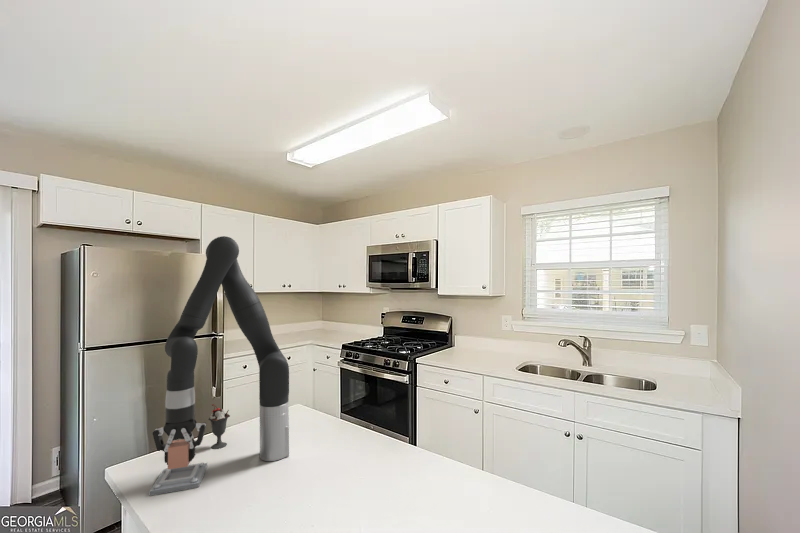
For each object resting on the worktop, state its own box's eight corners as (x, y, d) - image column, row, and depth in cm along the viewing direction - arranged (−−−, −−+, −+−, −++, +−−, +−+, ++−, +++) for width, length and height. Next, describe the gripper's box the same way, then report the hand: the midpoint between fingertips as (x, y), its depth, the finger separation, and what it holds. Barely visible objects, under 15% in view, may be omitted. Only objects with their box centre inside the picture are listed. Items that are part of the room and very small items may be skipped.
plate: (207, 466, 114) (207, 459, 115) (198, 487, 103) (198, 479, 103) (163, 473, 111) (163, 466, 111) (149, 495, 99) (149, 487, 99)
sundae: (203, 448, 127) (203, 405, 128) (219, 440, 133) (219, 399, 134) (217, 451, 125) (217, 407, 125) (233, 443, 131) (233, 401, 131)
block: (191, 458, 110) (191, 438, 111) (187, 466, 106) (187, 445, 106) (173, 461, 109) (173, 440, 109) (167, 469, 104) (167, 448, 104)
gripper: (209, 396, 114) (209, 452, 113) (157, 402, 109) (156, 459, 109) (204, 404, 106) (204, 464, 106) (147, 410, 102) (147, 472, 102)
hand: (179, 461), depth 107 cm, fingers closed on block, 5 cm apart
